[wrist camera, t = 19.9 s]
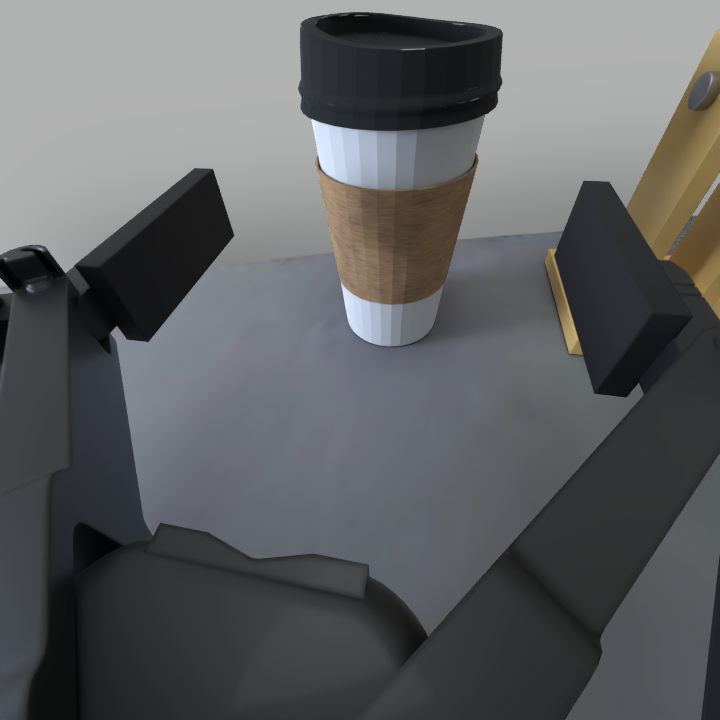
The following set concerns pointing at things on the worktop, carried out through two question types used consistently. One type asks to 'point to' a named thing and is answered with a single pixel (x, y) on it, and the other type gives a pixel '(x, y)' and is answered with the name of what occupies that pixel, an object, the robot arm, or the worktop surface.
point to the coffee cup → (396, 154)
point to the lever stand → (677, 192)
